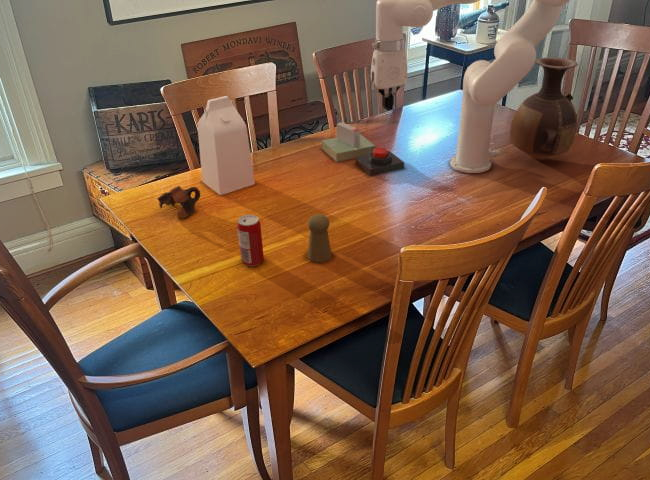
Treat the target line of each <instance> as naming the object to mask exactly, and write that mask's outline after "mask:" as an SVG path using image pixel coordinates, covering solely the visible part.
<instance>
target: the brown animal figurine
mask: <svg viewBox="0 0 650 480" xmlns="http://www.w3.org/2000/svg"><path fill="white" fill-rule="evenodd" d="M192 193H194V197H192ZM200 198H201V190H199V188H198V187H196V186H191V187H189V188H187V189H184V188H182V187H181V186H180V185H177V186H175V187H173V188H172V189H171V188H170V190H169V191H168V192H164V193H163V194H161V195H160V196H159V197H157V201H159V202H158V206H159V209H161V210H162V209H163V205H166V206H171V205H172V206H175V205H176V204H179V205H180V206H181V208H182V209H181V210H179V211H178V212H177V215H178V216H179V218H180V219H181V220H183V219H185V218H187V217H189V216H190V215H192V214H194V213H195V212H196V209H195V205H196V203H197V202H199V200H200Z"/></svg>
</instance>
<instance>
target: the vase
mask: <svg viewBox="0 0 650 480" xmlns="http://www.w3.org/2000/svg"><path fill="white" fill-rule="evenodd" d="M535 65H537V66H539V67H542V69H543V81H542V85H541V87H540V90H539V91H538V92H536V93H533V94H531V95H529V96H528V97H526V99H524V100H523V101H522V102H521V104H519V106H518V108H517V109H516V111H515V113H514V116H513V117H512V121H511V124H510V129H509V141H510V143H511V144H512V145H513V146H514V147H515V148H516V149H518V150H520V151H522V152H523V153H525V154H527V156H529V157H531V158H532V159H534V160H541V159H545V158H550V157H554V156H559V155H563V154H565V153H567V152H568V151H569V150H570V149H571V148H572V145H573V143H574V141H575V137H576V133H577V128H578V127H577V126H578V117H577V112H576V109H575V106H574V104H573V103H572V100H574V96H573V95H572V94H571V93H568V94H567V95H563V92H562V83H563V78H564V76H565V73H566V72H567V71H568V70H569V69H573V68H576V67H577V66H579V65H578V63H577V62H576V61H574V60H573V59H568V58H564V57H557V56H554V57H553V56H552V57H551V56H550V57H549V56H548V57H540V58H536V60H535Z"/></svg>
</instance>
